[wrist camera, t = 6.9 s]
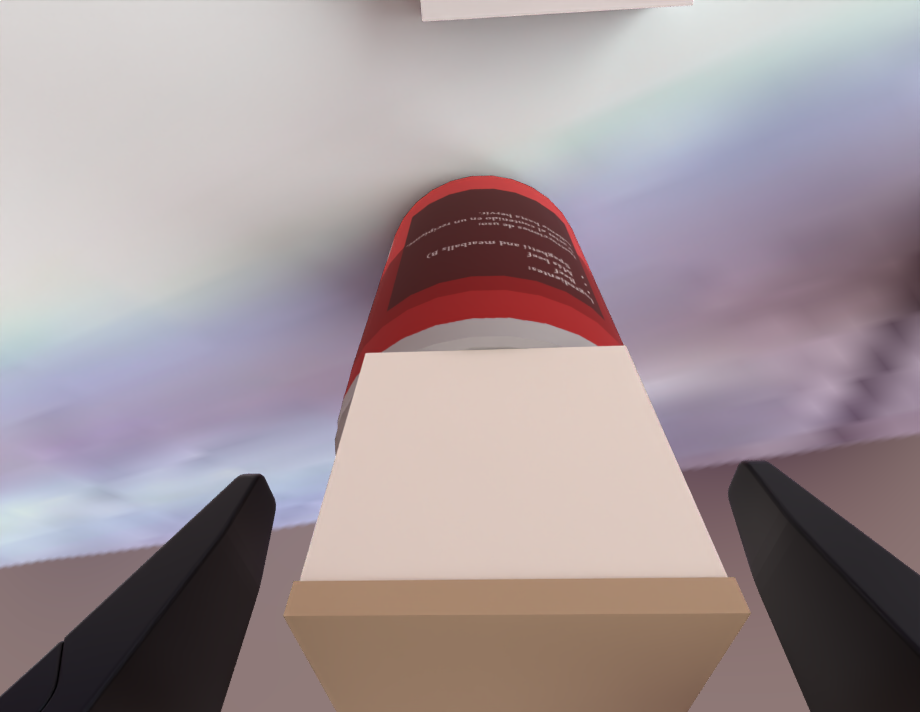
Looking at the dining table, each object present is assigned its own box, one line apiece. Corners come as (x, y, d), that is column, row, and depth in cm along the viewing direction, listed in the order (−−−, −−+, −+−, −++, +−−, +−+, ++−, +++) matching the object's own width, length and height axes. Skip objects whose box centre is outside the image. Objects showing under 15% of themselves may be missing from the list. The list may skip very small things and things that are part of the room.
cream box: (628, 343, 9) (751, 612, 5) (587, 552, 13) (638, 789, 9) (362, 351, 9) (283, 616, 5) (405, 553, 14) (378, 785, 10)
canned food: (463, 368, 24) (459, 590, 15) (351, 240, 20) (255, 439, 11) (609, 289, 21) (711, 504, 12) (512, 123, 17) (557, 262, 8)
